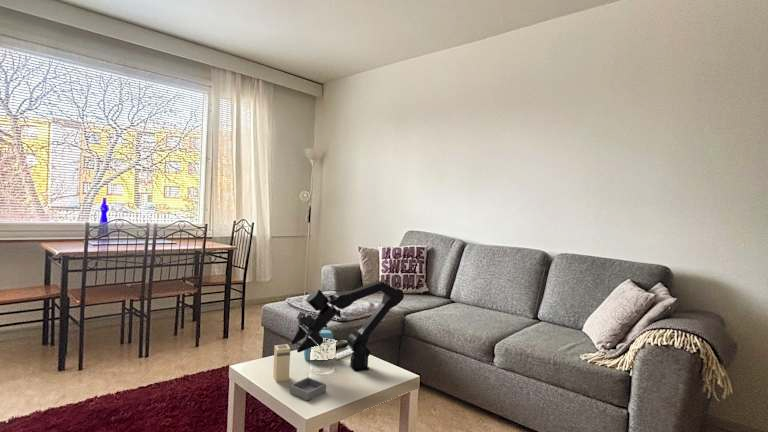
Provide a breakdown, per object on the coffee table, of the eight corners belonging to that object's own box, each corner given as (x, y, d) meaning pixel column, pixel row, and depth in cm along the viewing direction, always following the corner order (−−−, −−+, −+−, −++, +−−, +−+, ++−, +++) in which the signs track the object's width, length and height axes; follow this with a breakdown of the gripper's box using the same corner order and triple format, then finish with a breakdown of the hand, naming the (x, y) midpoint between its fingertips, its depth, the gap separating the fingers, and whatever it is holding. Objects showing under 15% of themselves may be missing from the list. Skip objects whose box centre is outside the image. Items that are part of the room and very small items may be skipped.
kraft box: (286, 375, 170) (287, 343, 169) (289, 380, 165) (290, 348, 165) (273, 376, 168) (274, 345, 167) (275, 382, 163) (277, 349, 163)
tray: (307, 384, 162) (308, 377, 162) (325, 392, 157) (326, 384, 157) (289, 393, 154) (289, 385, 154) (308, 401, 149) (308, 392, 149)
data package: (330, 355, 193) (332, 329, 192) (332, 359, 188) (333, 332, 188) (303, 357, 189) (304, 330, 189) (304, 361, 185) (305, 333, 185)
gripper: (303, 299, 178) (275, 327, 174) (316, 311, 161) (286, 342, 157) (321, 316, 182) (294, 344, 178) (335, 329, 165) (306, 361, 161)
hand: (294, 347), depth 168 cm, fingers open, 9 cm apart
